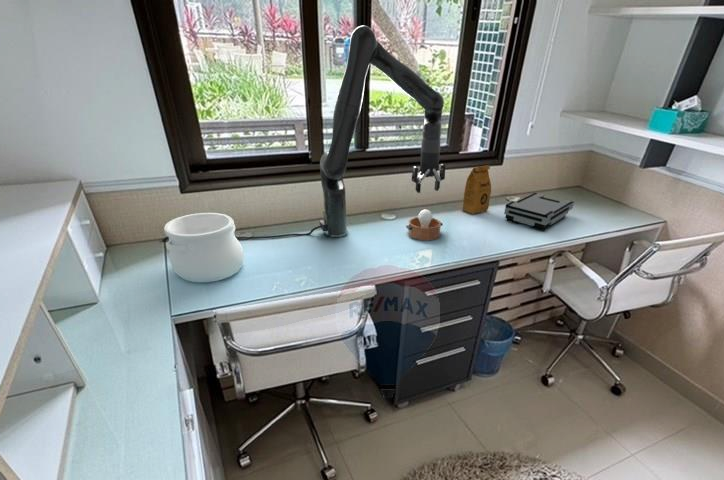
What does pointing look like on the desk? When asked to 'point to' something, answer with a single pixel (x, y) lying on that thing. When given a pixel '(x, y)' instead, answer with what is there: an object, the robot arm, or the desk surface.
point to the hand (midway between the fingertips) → (427, 191)
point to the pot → (204, 247)
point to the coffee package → (477, 190)
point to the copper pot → (424, 229)
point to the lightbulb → (425, 218)
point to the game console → (537, 211)
